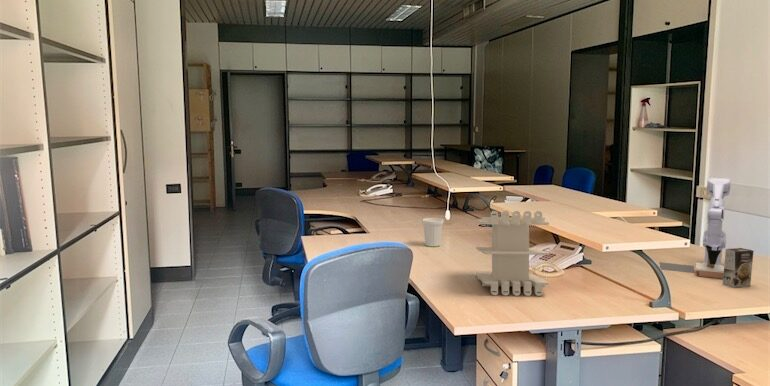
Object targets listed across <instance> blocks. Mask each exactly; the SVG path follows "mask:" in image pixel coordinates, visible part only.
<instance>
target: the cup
mask: <svg viewBox="0 0 770 386" xmlns="http://www.w3.org/2000/svg"><path fill="white" fill-rule="evenodd" d="M421 221H422V222H421V223H422V224H423V231H424V233H423V234H424V235H423V236H424V242H425V243H424V244H425V247H428V248H437V247H440V246H441V237H442V230H443V224H444V221H445V220H444V219H443V218H439V217H427V218H425V217H424V218H423V219H422V220H421Z"/></svg>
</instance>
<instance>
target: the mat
mask: <svg viewBox="0 0 770 386" xmlns="http://www.w3.org/2000/svg"><path fill="white" fill-rule="evenodd" d="M660 268H661V270H660V271H671V272H678V273H679V272H681V273H688V274H696V271H695V270H696V269H695V267H694V265H690V264H678V263H671V262H670V263H669V262H661V261H660V262H659V269H660Z"/></svg>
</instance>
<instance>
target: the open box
mask: <svg viewBox="0 0 770 386" xmlns="http://www.w3.org/2000/svg"><path fill="white" fill-rule="evenodd" d="M697 272H698V276H699V278H700V277H702V278H710V279H717V280H718V279H719V280H723V274H724V273H719V272H710V271H701V270H697Z"/></svg>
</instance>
